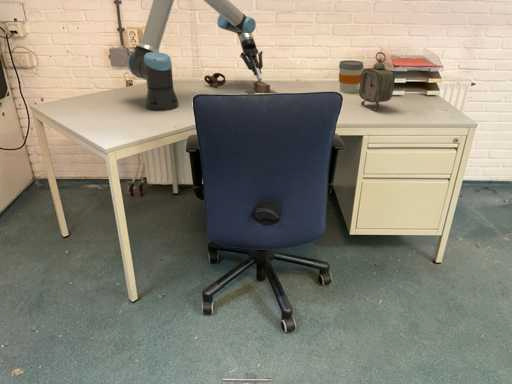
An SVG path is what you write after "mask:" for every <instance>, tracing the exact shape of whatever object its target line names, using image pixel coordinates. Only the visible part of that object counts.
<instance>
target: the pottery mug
mask: <svg viewBox="0 0 512 384" xmlns="http://www.w3.org/2000/svg"><path fill="white" fill-rule="evenodd" d="M220 77H221V78H222V80H218V78H220ZM203 79H204V81H205V83H207V84H208V85H209V86H212V85H214V88H215V89H218V88H219V87H221V86H223V85H225V84H226V82H227V80H226V76H225V75H224V74H222V73H220V72H214V73H213V74H212V75H209V74H208V75H205V76H204V77H203Z"/></svg>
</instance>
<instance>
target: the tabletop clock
mask: <svg viewBox="0 0 512 384" xmlns="http://www.w3.org/2000/svg"><path fill="white" fill-rule="evenodd" d="M379 54H381V55H383V57H384V59H383V60H382V58H379V59H378V58H377V57H378V55H379ZM375 59H376V61H377V62H376V63H374V65H373V67H368V68H363V69H362V73H361V79H360V83H359V86H358V88H359V90H358V92H359V93H358V94H359V97H360V98H361V99H362V100H363V101H360V104H361V106H363V105H365V102H369V103H371V104H372V103H373V104H375V107H374V108H373V110H374V112H377V111H378V110H379V107H380V104H379V103H382V102H383V103H384V102H389V101H390V100H392V97H393V92H394V88H395V80H396V75H395V73H394V72H393V71H391V70H389V69H387V68H386V65H385V64H384V62H385V61H386V54H385V53H384V52H382V51H379V52H377V53H376V54H375Z"/></svg>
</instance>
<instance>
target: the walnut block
mask: <svg viewBox="0 0 512 384" xmlns="http://www.w3.org/2000/svg"><path fill="white" fill-rule="evenodd" d="M252 85H253V86H252V87H253V88H252V90H254V91H256V92H258V93H270V89H271V85H270V84H269V83H267V82H264V81H263V80H261V81H259V82H258V80H257V81H256V80H255V81H253V82H252Z"/></svg>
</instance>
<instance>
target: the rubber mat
mask: <svg viewBox="0 0 512 384" xmlns="http://www.w3.org/2000/svg"><path fill="white" fill-rule="evenodd" d="M244 92H245V93H247V94H248V95H250V94H255V93H258V92H256V91H254V90H253V89H250V90H245V91H244ZM270 93H278V92H277V91H276V90H275V91H274V90H272V89H271V88H270Z"/></svg>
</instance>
